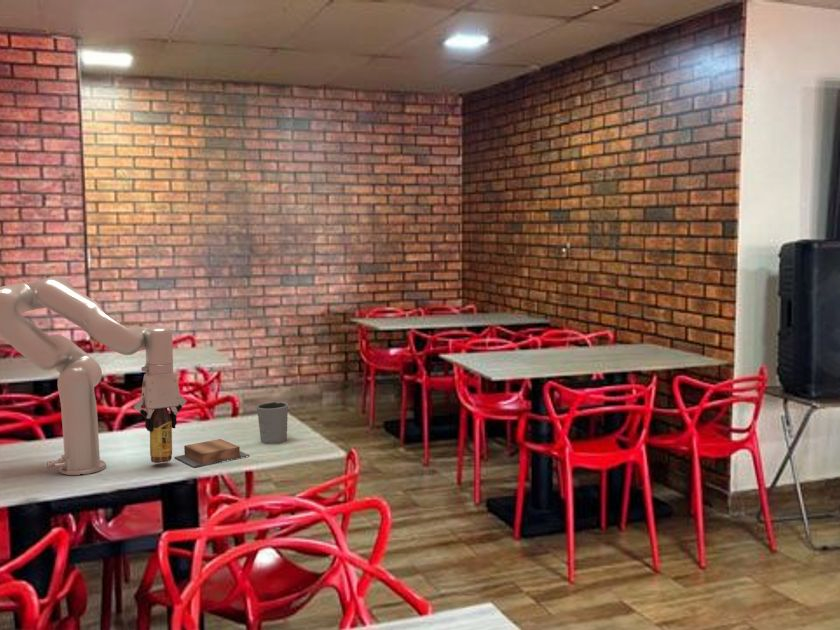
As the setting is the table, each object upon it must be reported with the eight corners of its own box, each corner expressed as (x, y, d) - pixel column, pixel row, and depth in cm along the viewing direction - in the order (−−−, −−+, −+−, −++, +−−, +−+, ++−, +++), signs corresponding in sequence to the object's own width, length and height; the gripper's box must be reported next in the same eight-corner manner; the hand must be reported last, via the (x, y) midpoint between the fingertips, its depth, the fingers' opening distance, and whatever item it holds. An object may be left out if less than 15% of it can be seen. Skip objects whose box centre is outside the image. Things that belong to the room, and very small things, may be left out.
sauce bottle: (165, 464, 239) (163, 397, 237) (146, 463, 241) (144, 396, 238) (176, 458, 246) (174, 393, 244) (157, 457, 247) (155, 392, 245)
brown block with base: (193, 468, 240) (193, 456, 239) (174, 458, 250) (174, 447, 250) (249, 456, 251) (249, 445, 250) (228, 447, 262) (228, 436, 261)
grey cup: (291, 436, 275) (289, 401, 273) (287, 444, 265) (285, 407, 263) (260, 437, 274) (259, 402, 273) (255, 445, 264) (254, 408, 263)
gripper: (135, 373, 232) (136, 436, 234) (193, 367, 243) (194, 427, 245) (125, 370, 238) (127, 431, 240) (182, 364, 249) (183, 422, 251)
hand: (161, 428), depth 242 cm, fingers closed on sauce bottle, 6 cm apart
